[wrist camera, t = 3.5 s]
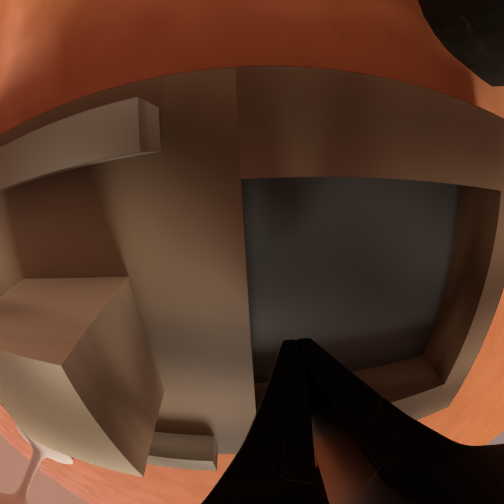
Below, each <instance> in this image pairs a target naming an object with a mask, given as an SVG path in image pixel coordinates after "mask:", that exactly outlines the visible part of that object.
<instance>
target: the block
mask: <svg viewBox="0 0 504 504" xmlns="http://www.w3.org/2000/svg"><path fill="white" fill-rule="evenodd" d="M163 395H164V388H163V386H162V383H161V381H160V378H159V375H158V373H157V370H156V367H155V364H154V361H153V359H152V356H151V353H150V350H149V347H148V344H147V341H146V337H145V334H144V331H143V328H142V324H141V321H140V318H139V314H138V310H137V307H136V303H135V299H134V296H133V292H132V288H131V284H130V279H129V276H128V277H94V278H41V279H22V280H21V281H20V282H18V283H17V284H16V285H14V286H13V287H12V288H11V289H9V290H8V291H7V292H5V293H4V294H3V295H2V296H1V297H0V403H1V405H2V406H3V407H4V408H5V410H6V411H7V412H8V414H9V415H10V416H11V417H12V418H13V420H14V421H15V422H16V423H17V424H18V426H19V427H20V428H21V429H22V430H23V431H24V432H25V433H26V434H27V436H28V437H29V438H30V439H31V440H32V441H35V442H37V443H39V444H41V445H43V446H45V447H48V448H50V449H52V450H55V451H57V452H59V453H62V454H65V455H67V456H70V457H72V458H75V459H78V460H81V461H84V462H87V463H90V464H93V465H96V466H100V467H103V468H107V469H110V470H114V471H118V472H122V473H126V474H131V475H136V476H140V477H143V476H144V472H145V467H146V463H147V458H148V454H149V450H150V446H151V442H152V437H153V433H154V429H155V425H156V421H157V418H158V414H159V410H160V406H161V402H162V399H163Z"/></svg>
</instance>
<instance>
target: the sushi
mask: <svg viewBox="0 0 504 504" xmlns="http://www.w3.org/2000/svg"><path fill="white" fill-rule="evenodd" d="M418 1H419V4H420V7H421V9H422V12H423V15H424V17H425V19H426V20H427V22H428V23H429V25H430V27H431V28H432V30H433V32H434V33H435V35H436V36H437V37H438V38H439V40H440V41H441V42H442V43H443V45H444V46H445V47H446V48H447V49H448V50H449V51H450V52H451V53H452V54H453V55H454V56H455V57H456V58H457V59H458V60H460V61H461V62H462V63H463V64H464V65H466V66H467V67H468V68H469V69H471V70H472V71H473V72H474V73H475V74H476V75H477V76H479V77H480V78H481V79H482V80H484V81H485V82H487V83H488V84H490V85H491V86H504V0H418Z"/></svg>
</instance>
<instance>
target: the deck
mask: <svg viewBox="0 0 504 504" xmlns="http://www.w3.org/2000/svg"><path fill="white" fill-rule="evenodd" d="M128 276H129V279H130V284H131V288H132V292H133V296H134V299H135V303H136V307H137V310H138V314H139V318H140V321H141V324H142V328H143V331H144V334H145V337H146V341H147V344H148V347H149V350H150V353H151V356H152V359H153V361H154V364H155V367H156V370H157V373H158V375H159V378H160V381H161V383H162V386H163V388H164V395H163V399H162V402H161V406H160V410H159V414H158V418H157V421H156V425H155V429H154V433H153V437H152V442H151V446H150V450H149V454H148V458H147V463H146V464H151V465H157V466H164V467H172V468H181V469H193V470H210V471H217V456H218V454H237V453H238V451H239V449H240V447H241V446H242V444H243V442H244V440H245V438H246V436H247V434H248V431H249V429H250V427H251V424H252V422H253V420H254V418H255V415H256V412H257V410H258V407H259V405H260V402H261V400H262V397H263V394H264V392H265V389H266V386H267V384H268V381H269V378H270V376H271V373H272V370H273V367H274V364H275V362H276V359H277V356H278V353H279V350H280V347H281V344H282V342H283V340H289V339H296V340H297V339H300V338H311V339H312V340H314V341H315V342H316V343H317V344H318V345H320V346H321V347H322V348H323V349H324V350H326V351H327V352H328V353H329V354H330V355H332V356H333V357H334V358H335V359H337V360H338V361H339V362H340V363H341V364H343V365H344V366H345V367H346V368H348V369H349V370H350V371H351V372H353V373H354V374H355V375H356V376H358V377H359V378H360V379H361V380H363V381H364V382H365V383H366V384H368V385H369V386H370V387H371V388H373V389H374V390H375V391H376V392H378V393H379V394H380V395H381V396H382V397H383V398H385V399H387V400H388V401H389V402H391V403H392V404H393V405H395V406H396V407H397V408H399V409H400V410H401V411H403V412H404V413H406V414H407V415H409V416H410V417H412V418H413V419H415V420H418V419H420V418H423V417H425V416H428V415H430V414H433V413H435V412H437V411H440V410H442V409H444V408H446V407H449V405H450V404H451V402H452V400H453V399H454V397H455V396H456V394H457V392H458V391H459V389H460V387H461V385H462V384H463V382H464V380H465V378H466V376H467V375H468V373H469V371H470V369H471V367H472V365H473V363H474V361H475V359H476V357H477V355H478V353H479V351H480V349H481V346H482V344H483V342H484V340H485V337H486V335H487V333H488V330H489V328H490V325H491V323H492V320H493V318H494V315H495V312H496V309H497V307H498V304H499V301H500V298H501V295H502V291H503V288H504V119H503V118H501V117H499V116H497V115H495V114H493V113H491V112H489V111H487V110H484V109H482V108H480V107H478V106H475V105H473V104H470V103H468V102H465V101H463V100H460V99H457V98H455V97H452V96H449V95H446V94H443V93H440V92H437V91H434V90H431V89H427V88H424V87H421V86H417V85H413V84H410V83H406V82H402V81H397V80H393V79H388V78H384V77H379V76H374V75H368V74H362V73H356V72H349V71H341V70H333V69H323V68H311V67H292V66H248V67H229V68H217V69H207V70H198V71H191V72H184V73H177V74H171V75H166V76H160V77H155V78H150V79H146V80H141V81H137V82H133V83H129V84H125V85H121V86H118V87H114V88H110V89H107V90H104V91H101V92H97V93H94V94H91V95H88V96H85V97H82V98H80V99H77V100H74V101H72V102H69V103H66V104H64V105H61V106H59V107H56V108H54V109H52V110H49V111H47V112H45V113H43V114H40V115H38V116H36V117H34V118H32V119H30V120H28V121H26V122H24V123H22V124H20V125H18V126H16V127H14V128H12V129H10V130H9V131H7V132H5V133H3V134H2V135H0V297H1V296H2V295H3V294H4V293H5V292H7V291H8V290H9V289H11V288H12V287H13V286H14V285H16V284H17V283H18V282H20V281H21V280H22V279H41V278H94V277H128ZM383 398H382V399H383Z"/></svg>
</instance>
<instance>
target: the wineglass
mask: <svg viewBox="0 0 504 504" xmlns="http://www.w3.org/2000/svg"><path fill="white" fill-rule="evenodd" d="M15 424H16V427H17V429H18V431H19V432H20V434H21V435H22V436H23V438H24V439H25V440H26V441H27V442H28V443H29V444H30V445H31V446H32V448H33V455H32V458H31V461H30V464H29V467H28V469H27V472H26V474H25V477H24V479H23V481H22V484H21V486H20V488H19V489H18V491H17V492H16V493H15V494H4V493H0V504H28V503H27V493H28V489H29V486H30V484H31V481H32V478H33V476H34V474H35V472H36V470H37V468H38V466H39V464H40V463H41V461H42V460H43V459H44V458H46V457H48V458H50V459H52V460H55V461H57V462H60V463H63V464H73V463H74V462H73V459H72V458H71V457H70V456H67V455H65V454H62V453H59V452H57V451H55V450H52V449H50V448H48V447H45V446H43V445H41V444H39V443H37V442H35V441H32V440H31V439H30V438H29V437H28V436H27V434H26V433H25V432H24V431H23V430H22V429H21V428H20V427H19V426H18V424H17V423H16V422H15Z"/></svg>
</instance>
